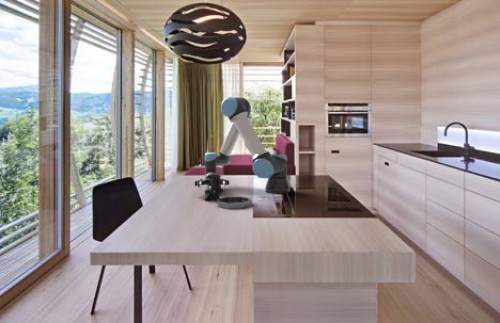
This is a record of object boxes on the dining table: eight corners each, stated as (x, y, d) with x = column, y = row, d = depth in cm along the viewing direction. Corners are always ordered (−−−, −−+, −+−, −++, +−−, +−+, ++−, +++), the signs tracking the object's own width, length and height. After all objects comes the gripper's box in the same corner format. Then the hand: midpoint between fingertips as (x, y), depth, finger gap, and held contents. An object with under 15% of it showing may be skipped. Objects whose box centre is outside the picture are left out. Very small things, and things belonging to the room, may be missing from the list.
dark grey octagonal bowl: (248, 200, 220) (248, 195, 220) (253, 207, 203) (253, 203, 202) (216, 201, 218) (216, 197, 218) (218, 209, 200) (218, 204, 200)
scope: (206, 174, 225) (223, 174, 225) (206, 198, 227) (224, 198, 226) (203, 176, 217) (221, 176, 216) (204, 201, 219) (221, 201, 218)
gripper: (231, 184, 248) (234, 191, 227) (191, 185, 245) (190, 192, 224) (231, 173, 247) (234, 178, 226) (190, 173, 244) (190, 179, 223)
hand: (212, 185), depth 225 cm, fingers open, 13 cm apart
